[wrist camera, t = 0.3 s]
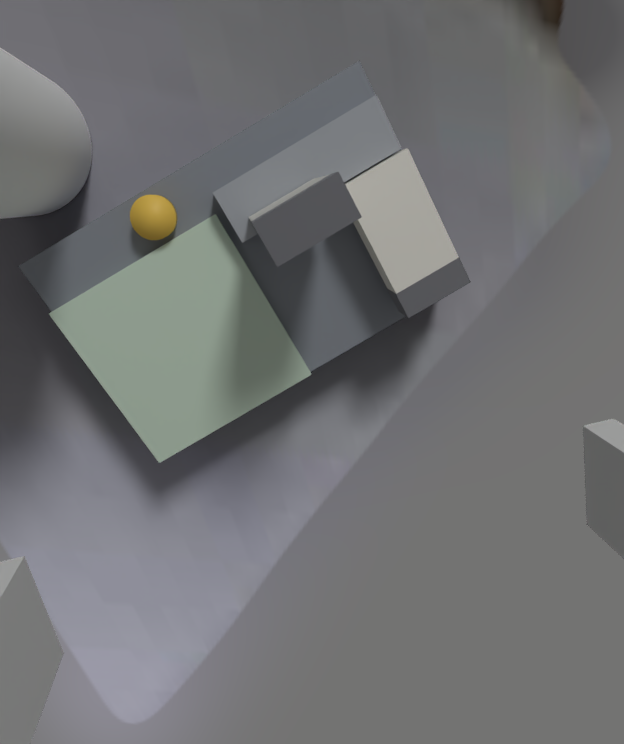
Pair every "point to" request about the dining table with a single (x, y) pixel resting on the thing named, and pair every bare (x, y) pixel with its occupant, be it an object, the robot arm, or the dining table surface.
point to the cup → (38, 142)
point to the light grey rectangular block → (305, 217)
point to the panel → (247, 268)
